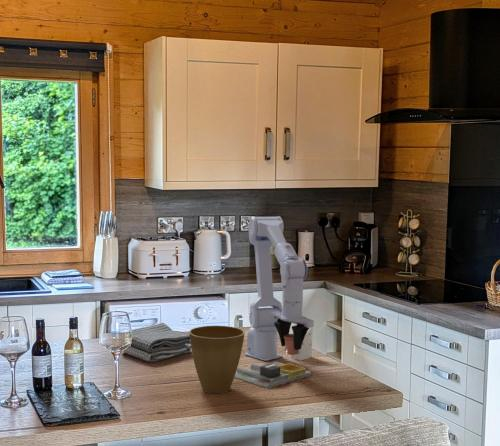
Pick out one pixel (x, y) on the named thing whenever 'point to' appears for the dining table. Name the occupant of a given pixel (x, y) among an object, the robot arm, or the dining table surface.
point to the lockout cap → (290, 345)
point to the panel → (286, 375)
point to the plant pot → (216, 355)
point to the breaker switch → (270, 370)
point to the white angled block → (305, 347)
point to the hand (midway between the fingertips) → (291, 347)
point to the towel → (158, 343)
